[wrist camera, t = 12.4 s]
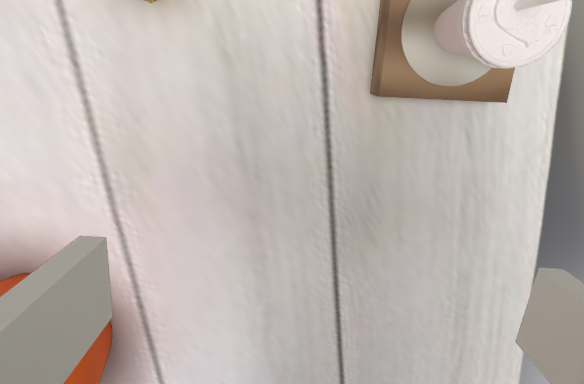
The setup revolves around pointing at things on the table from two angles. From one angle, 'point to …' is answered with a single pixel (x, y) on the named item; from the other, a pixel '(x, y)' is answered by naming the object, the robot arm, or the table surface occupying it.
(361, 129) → the table surface
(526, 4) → the smoothie
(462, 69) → the pedestal
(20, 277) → the flowerpot
